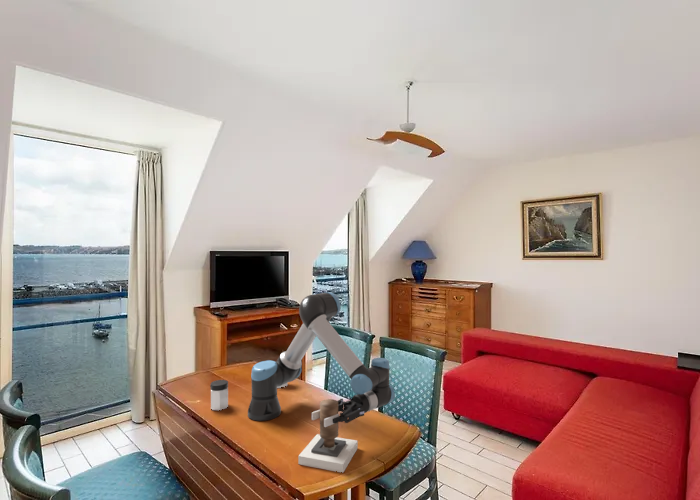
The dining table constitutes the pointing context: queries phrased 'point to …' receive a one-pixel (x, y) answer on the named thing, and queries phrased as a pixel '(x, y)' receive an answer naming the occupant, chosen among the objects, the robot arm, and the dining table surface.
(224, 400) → the jar
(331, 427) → the peg
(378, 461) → the dining table surface
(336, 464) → the frame
